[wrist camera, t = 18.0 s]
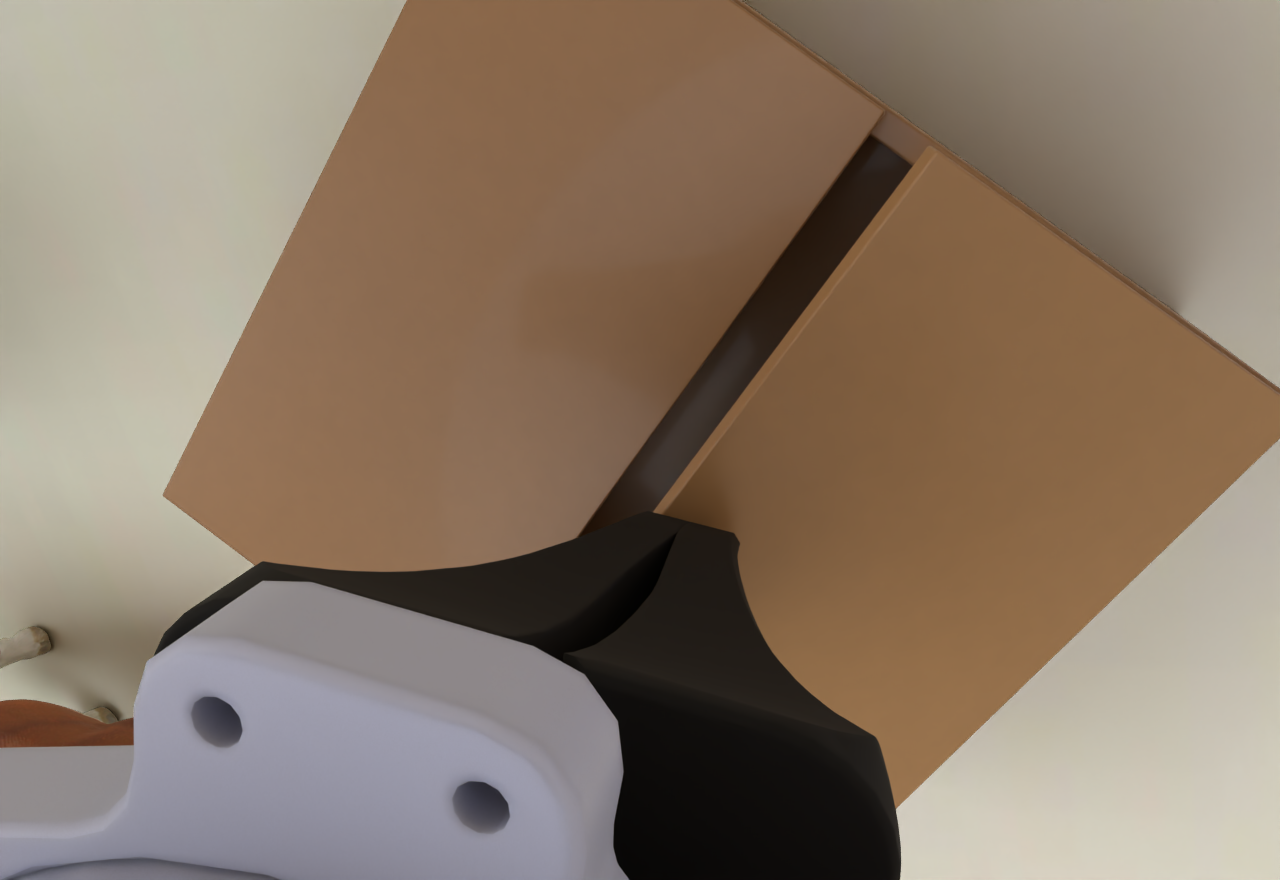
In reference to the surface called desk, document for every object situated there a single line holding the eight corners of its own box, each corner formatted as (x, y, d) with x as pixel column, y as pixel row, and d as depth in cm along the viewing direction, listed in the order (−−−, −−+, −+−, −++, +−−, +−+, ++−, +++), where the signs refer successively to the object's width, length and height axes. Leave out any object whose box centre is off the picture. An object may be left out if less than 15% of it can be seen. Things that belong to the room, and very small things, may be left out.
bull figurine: (389, 810, 29) (208, 1048, 22) (2, 714, 32) (-276, 895, 25) (388, 677, 28) (194, 883, 20) (-16, 590, 31) (-316, 742, 23)
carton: (1182, 316, 20) (1310, 411, 14) (797, 731, 25) (754, 946, 19) (624, -84, 21) (488, -180, 14) (351, 399, 26) (157, 495, 19)
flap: (1292, 403, 14) (1307, 414, 14) (753, 930, 19) (755, 944, 19) (928, 143, 12) (937, 150, 11) (419, 821, 17) (417, 837, 16)
